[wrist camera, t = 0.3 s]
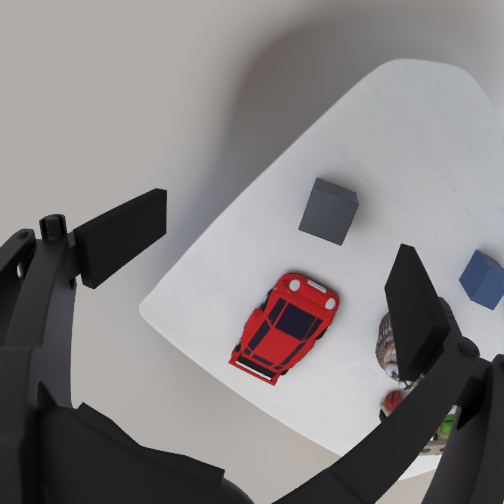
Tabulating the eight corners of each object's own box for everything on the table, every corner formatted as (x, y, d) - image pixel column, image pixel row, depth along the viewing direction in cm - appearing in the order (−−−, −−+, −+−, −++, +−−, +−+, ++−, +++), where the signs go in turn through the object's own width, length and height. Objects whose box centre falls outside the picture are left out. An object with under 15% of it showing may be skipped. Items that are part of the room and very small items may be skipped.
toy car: (346, 292, 38) (346, 315, 33) (285, 373, 48) (279, 394, 44) (278, 259, 39) (270, 278, 34) (232, 348, 49) (222, 368, 44)
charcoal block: (303, 215, 35) (298, 229, 31) (316, 177, 33) (313, 186, 28) (341, 229, 34) (341, 246, 30) (356, 192, 32) (359, 204, 28)
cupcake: (445, 320, 35) (461, 368, 26) (400, 357, 40) (405, 405, 31) (407, 286, 35) (421, 335, 26) (360, 329, 40) (361, 380, 31)
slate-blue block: (458, 279, 32) (470, 300, 28) (476, 249, 30) (490, 267, 25) (481, 290, 31) (493, 310, 27) (497, 262, 29) (512, 279, 25)
